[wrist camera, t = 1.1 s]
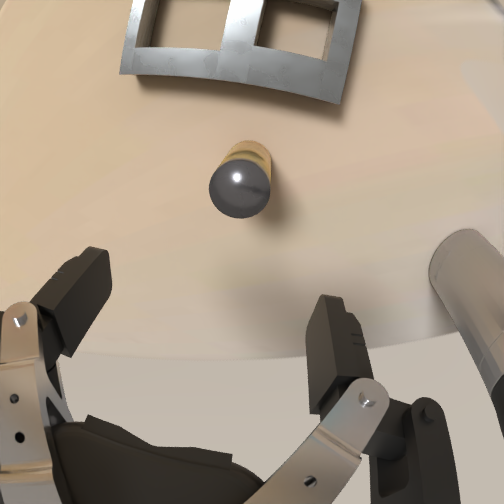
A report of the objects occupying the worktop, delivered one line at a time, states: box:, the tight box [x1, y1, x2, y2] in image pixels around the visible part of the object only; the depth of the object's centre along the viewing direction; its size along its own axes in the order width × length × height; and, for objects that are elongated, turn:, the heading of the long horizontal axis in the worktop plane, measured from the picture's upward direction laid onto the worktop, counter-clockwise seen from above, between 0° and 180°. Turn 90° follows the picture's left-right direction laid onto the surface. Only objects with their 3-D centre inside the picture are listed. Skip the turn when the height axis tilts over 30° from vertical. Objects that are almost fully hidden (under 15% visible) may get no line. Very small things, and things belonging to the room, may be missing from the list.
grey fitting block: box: [119, 0, 362, 105], centre depth 18 cm, size 18×12×3 cm, turn 79°
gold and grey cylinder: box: [209, 141, 271, 218], centre depth 22 cm, size 4×4×8 cm
